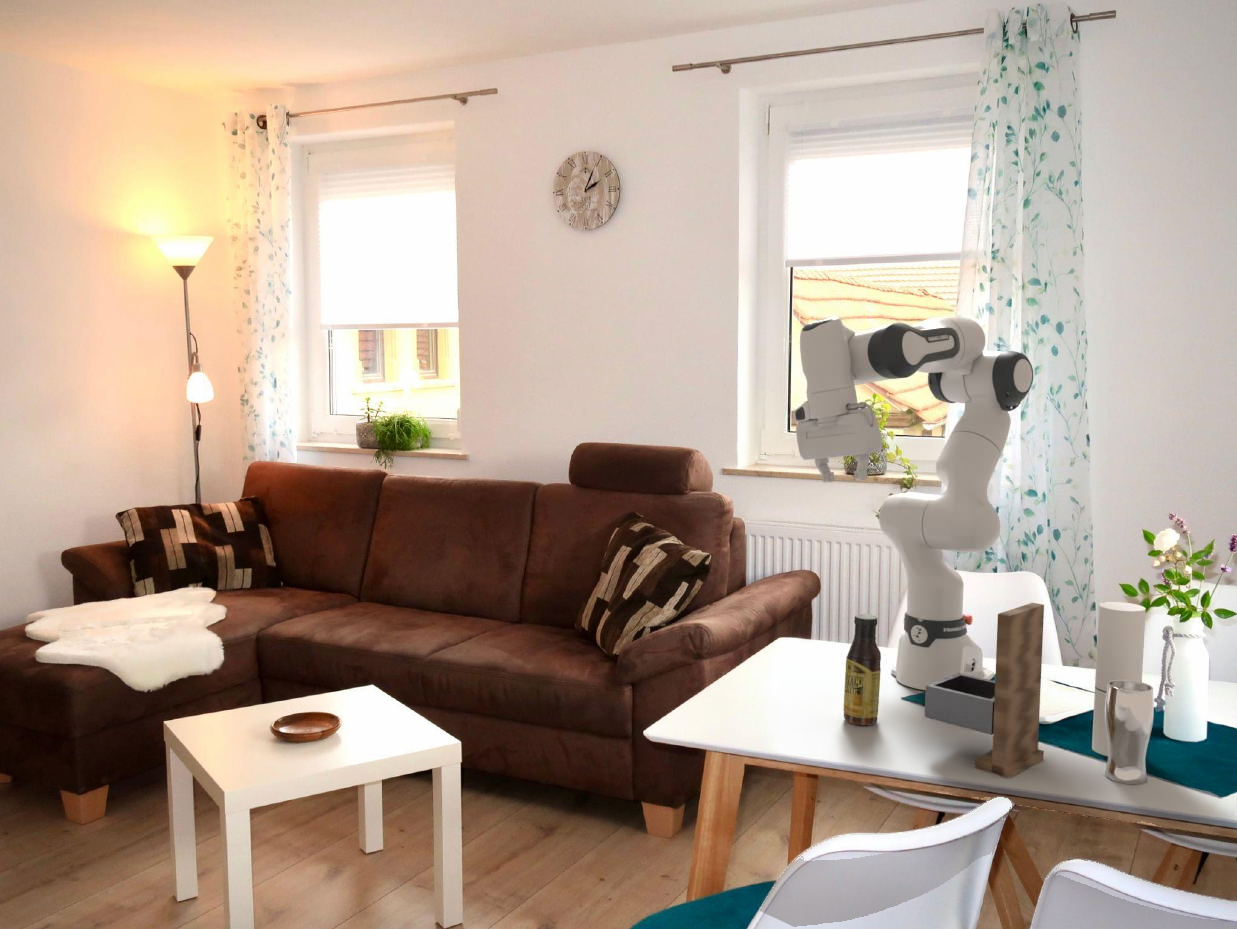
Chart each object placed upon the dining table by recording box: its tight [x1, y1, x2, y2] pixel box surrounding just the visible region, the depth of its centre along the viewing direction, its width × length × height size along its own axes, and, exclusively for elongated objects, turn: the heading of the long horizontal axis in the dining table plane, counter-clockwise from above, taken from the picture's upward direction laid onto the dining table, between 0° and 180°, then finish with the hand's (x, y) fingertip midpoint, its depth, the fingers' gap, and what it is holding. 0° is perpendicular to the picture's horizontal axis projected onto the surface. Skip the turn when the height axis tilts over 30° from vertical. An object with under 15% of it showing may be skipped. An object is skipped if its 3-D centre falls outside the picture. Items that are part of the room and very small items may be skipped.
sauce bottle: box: [843, 613, 882, 727], centre depth 196 cm, size 7×6×20 cm
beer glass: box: [1104, 680, 1155, 786], centre depth 170 cm, size 7×7×15 cm
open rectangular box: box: [924, 673, 995, 736], centre depth 180 cm, size 11×12×6 cm
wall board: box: [973, 602, 1045, 779], centre depth 175 cm, size 12×6×26 cm, turn 134°
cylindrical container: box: [1091, 601, 1147, 757], centre depth 182 cm, size 7×7×25 cm
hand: (844, 481), depth 197 cm, fingers open, 8 cm apart
